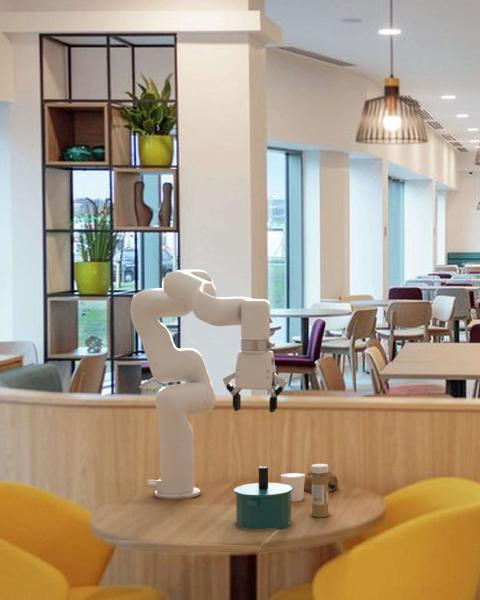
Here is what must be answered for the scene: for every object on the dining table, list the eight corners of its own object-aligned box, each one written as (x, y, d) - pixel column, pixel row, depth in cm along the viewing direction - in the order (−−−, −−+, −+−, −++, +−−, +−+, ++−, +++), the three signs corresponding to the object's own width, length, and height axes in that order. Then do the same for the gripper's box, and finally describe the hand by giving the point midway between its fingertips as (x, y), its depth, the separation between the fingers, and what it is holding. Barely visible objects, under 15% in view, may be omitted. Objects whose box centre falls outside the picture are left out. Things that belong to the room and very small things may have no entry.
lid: (226, 498, 264) (226, 471, 264) (244, 486, 279) (244, 460, 278) (283, 500, 262) (283, 473, 262) (298, 488, 276) (298, 462, 276)
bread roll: (318, 506, 306) (327, 482, 303) (292, 487, 310) (301, 463, 308) (338, 499, 314) (347, 476, 312) (312, 481, 319) (321, 458, 317)
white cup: (307, 496, 301) (307, 472, 301) (302, 502, 294) (302, 477, 294) (283, 496, 302) (283, 471, 302) (278, 502, 295) (278, 476, 295)
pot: (225, 532, 262) (225, 498, 262) (249, 514, 281) (249, 482, 281) (279, 534, 260) (278, 500, 260) (299, 516, 279) (299, 484, 278)
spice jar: (332, 515, 280) (332, 464, 279) (321, 518, 276) (321, 467, 276) (319, 512, 283) (318, 462, 282) (307, 516, 279) (307, 465, 278)
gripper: (291, 345, 282) (290, 410, 283) (228, 343, 285) (228, 407, 286) (282, 348, 275) (282, 414, 275) (218, 346, 278) (218, 411, 278)
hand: (254, 410), depth 281 cm, fingers open, 9 cm apart
